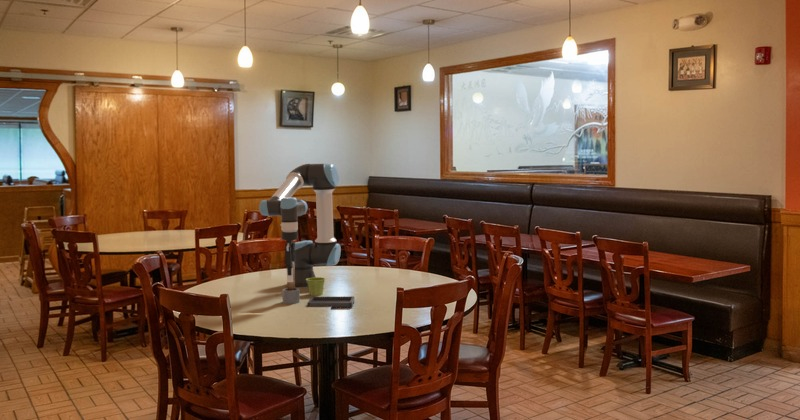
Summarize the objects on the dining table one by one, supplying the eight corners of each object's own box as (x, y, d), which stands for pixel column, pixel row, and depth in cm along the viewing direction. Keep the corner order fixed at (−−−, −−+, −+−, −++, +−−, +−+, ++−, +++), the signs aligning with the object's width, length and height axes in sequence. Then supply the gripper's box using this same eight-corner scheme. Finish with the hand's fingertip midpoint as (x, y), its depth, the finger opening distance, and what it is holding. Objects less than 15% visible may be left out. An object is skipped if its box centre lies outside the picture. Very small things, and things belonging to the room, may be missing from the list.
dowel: (288, 295, 316) (287, 261, 315) (295, 295, 316) (295, 261, 315) (286, 297, 313) (285, 262, 311) (294, 296, 313) (293, 262, 311)
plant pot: (307, 298, 327) (307, 281, 326) (305, 295, 336) (305, 277, 335) (327, 297, 329) (326, 280, 328) (324, 293, 338) (323, 276, 337)
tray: (312, 301, 319) (312, 296, 319) (354, 301, 319) (354, 296, 319) (307, 308, 305) (307, 303, 305) (351, 308, 305) (351, 302, 305)
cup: (284, 302, 318) (284, 287, 318) (300, 302, 318) (300, 287, 318) (281, 306, 311) (281, 291, 310) (298, 306, 311) (297, 291, 310)
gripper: (284, 228, 320) (286, 277, 322) (277, 233, 304) (279, 284, 306) (300, 228, 320) (301, 277, 322) (294, 233, 303) (295, 284, 306)
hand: (291, 281), depth 314 cm, fingers closed on dowel, 3 cm apart
